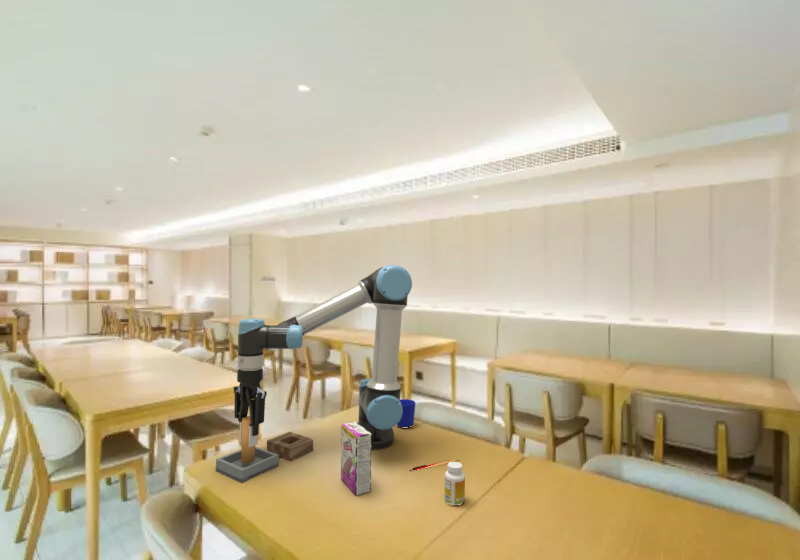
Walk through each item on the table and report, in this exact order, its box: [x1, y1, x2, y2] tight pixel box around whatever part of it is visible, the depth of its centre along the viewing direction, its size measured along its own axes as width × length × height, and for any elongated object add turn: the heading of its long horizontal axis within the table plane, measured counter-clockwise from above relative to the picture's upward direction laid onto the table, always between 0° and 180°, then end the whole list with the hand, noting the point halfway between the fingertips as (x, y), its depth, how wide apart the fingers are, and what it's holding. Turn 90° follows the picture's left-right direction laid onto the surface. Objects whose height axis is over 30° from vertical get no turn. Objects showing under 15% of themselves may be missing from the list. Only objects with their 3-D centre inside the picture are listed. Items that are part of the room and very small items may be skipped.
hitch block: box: [266, 431, 314, 462], centre depth 133 cm, size 12×10×4 cm
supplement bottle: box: [443, 461, 466, 505], centre depth 104 cm, size 5×5×10 cm
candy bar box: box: [340, 421, 372, 497], centre depth 111 cm, size 11×5×16 cm, turn 31°
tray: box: [215, 445, 280, 484], centre depth 120 cm, size 13×13×4 cm
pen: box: [409, 462, 438, 472], centre depth 125 cm, size 1×19×1 cm, turn 117°
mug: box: [396, 398, 416, 428], centre depth 162 cm, size 8×12×10 cm
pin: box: [240, 415, 256, 463], centre depth 121 cm, size 4×4×13 cm
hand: (248, 443), depth 121 cm, fingers closed on pin, 4 cm apart
